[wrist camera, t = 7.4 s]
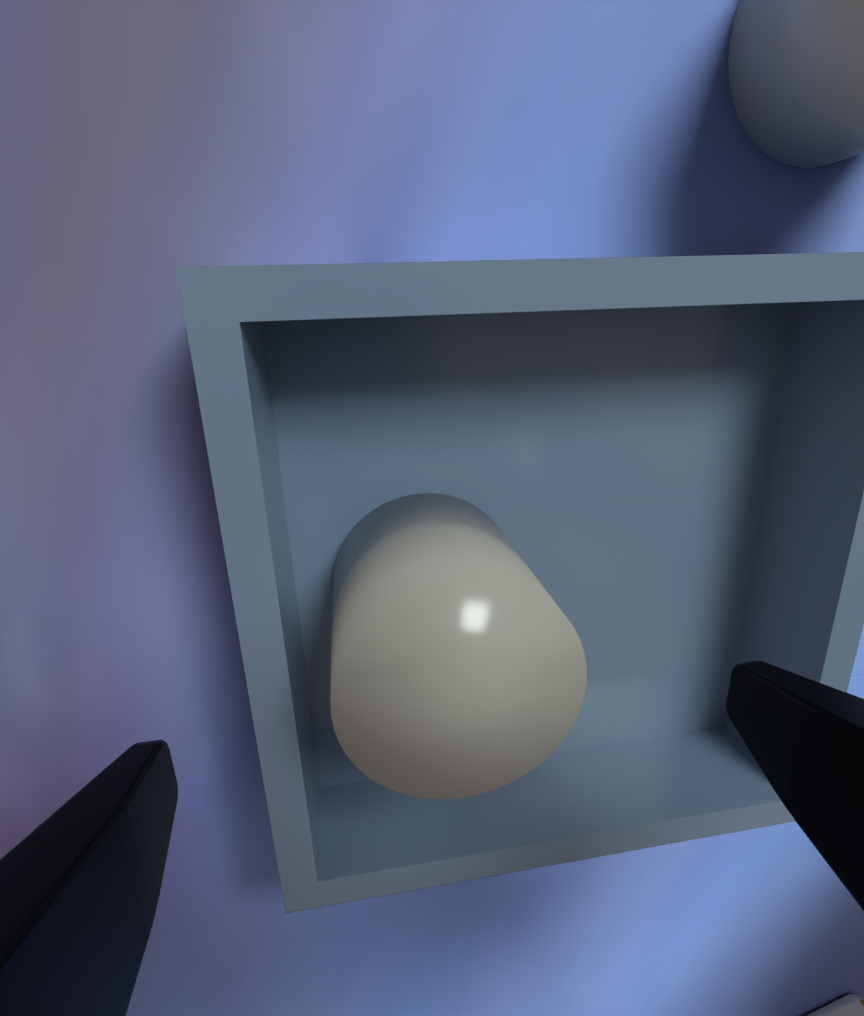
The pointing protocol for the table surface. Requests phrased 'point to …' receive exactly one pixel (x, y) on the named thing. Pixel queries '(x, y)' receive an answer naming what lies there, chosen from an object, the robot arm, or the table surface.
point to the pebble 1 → (446, 652)
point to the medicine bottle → (842, 1007)
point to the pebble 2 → (800, 78)
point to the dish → (541, 523)
